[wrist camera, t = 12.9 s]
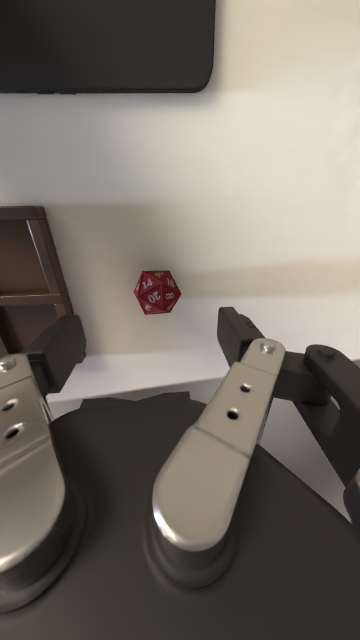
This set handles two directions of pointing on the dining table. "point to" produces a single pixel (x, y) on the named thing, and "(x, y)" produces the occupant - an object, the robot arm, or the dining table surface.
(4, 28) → the phone
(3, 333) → the holder
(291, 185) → the dining table surface
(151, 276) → the dice
